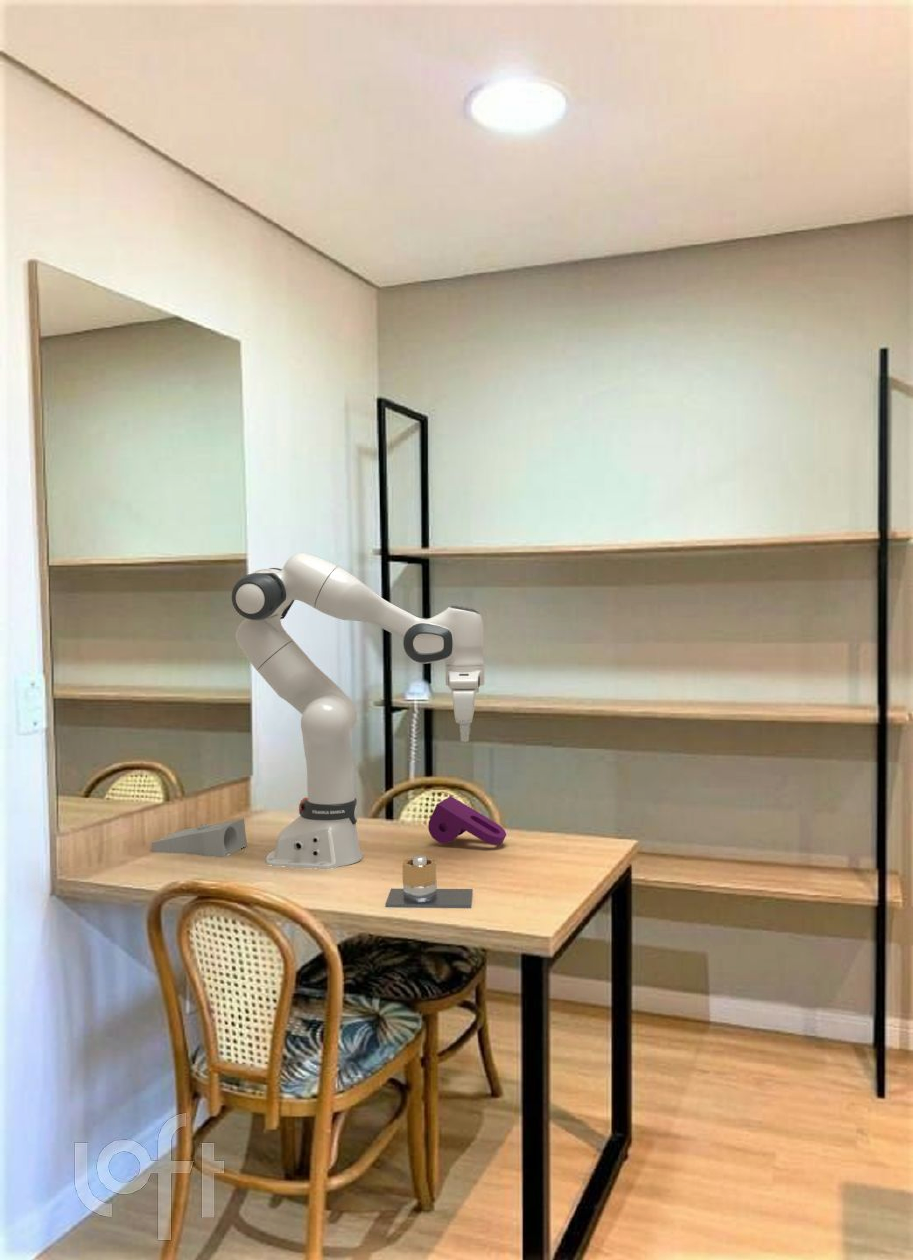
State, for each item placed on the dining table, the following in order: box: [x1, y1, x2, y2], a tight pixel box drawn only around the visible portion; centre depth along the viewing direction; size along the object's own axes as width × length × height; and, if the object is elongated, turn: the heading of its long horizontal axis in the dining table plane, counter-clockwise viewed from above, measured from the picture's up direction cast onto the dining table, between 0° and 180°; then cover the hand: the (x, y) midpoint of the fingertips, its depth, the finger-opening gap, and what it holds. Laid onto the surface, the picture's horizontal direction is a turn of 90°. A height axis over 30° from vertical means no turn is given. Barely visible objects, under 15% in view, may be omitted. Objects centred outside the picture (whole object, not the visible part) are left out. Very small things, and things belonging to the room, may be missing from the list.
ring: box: [402, 857, 437, 887], centre depth 198 cm, size 7×7×4 cm
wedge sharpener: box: [151, 818, 248, 858], centre depth 241 cm, size 11×20×7 cm, turn 72°
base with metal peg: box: [384, 855, 474, 909], centre depth 198 cm, size 17×10×9 cm, turn 87°
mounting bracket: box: [427, 795, 507, 846], centre depth 244 cm, size 9×8×18 cm
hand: (465, 737), depth 223 cm, fingers open, 8 cm apart
